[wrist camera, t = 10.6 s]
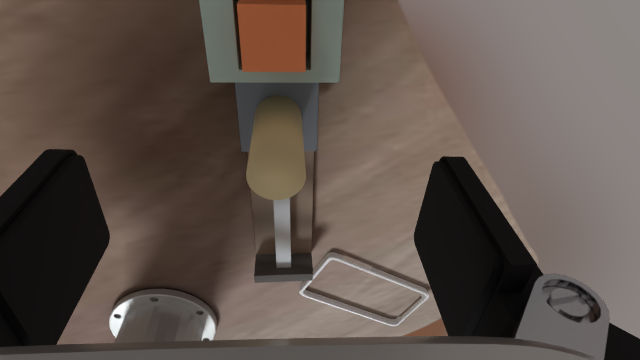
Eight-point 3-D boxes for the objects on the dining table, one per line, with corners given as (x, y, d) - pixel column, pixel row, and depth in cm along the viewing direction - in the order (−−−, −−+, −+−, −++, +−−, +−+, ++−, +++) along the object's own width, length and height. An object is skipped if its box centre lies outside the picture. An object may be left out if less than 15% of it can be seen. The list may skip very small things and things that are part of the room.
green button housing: (328, 46, 31) (339, 82, 25) (226, 45, 31) (210, 82, 24) (331, -40, 28) (345, -24, 21) (217, -43, 27) (195, -28, 21)
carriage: (314, 132, 34) (325, 214, 25) (244, 132, 34) (229, 217, 25) (316, 64, 31) (329, 130, 22) (238, 63, 30) (218, 131, 21)
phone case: (297, 285, 48) (393, 319, 53) (297, 294, 47) (395, 327, 52) (329, 247, 45) (428, 286, 50) (330, 255, 44) (431, 295, 49)
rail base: (310, 253, 44) (312, 280, 41) (257, 254, 44) (254, 282, 41) (315, 46, 31) (319, 62, 28) (239, 45, 31) (233, 61, 28)
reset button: (303, 55, 25) (305, 72, 23) (247, 54, 25) (242, 71, 22) (303, -6, 23) (306, 5, 21) (242, -7, 23) (236, 3, 20)
